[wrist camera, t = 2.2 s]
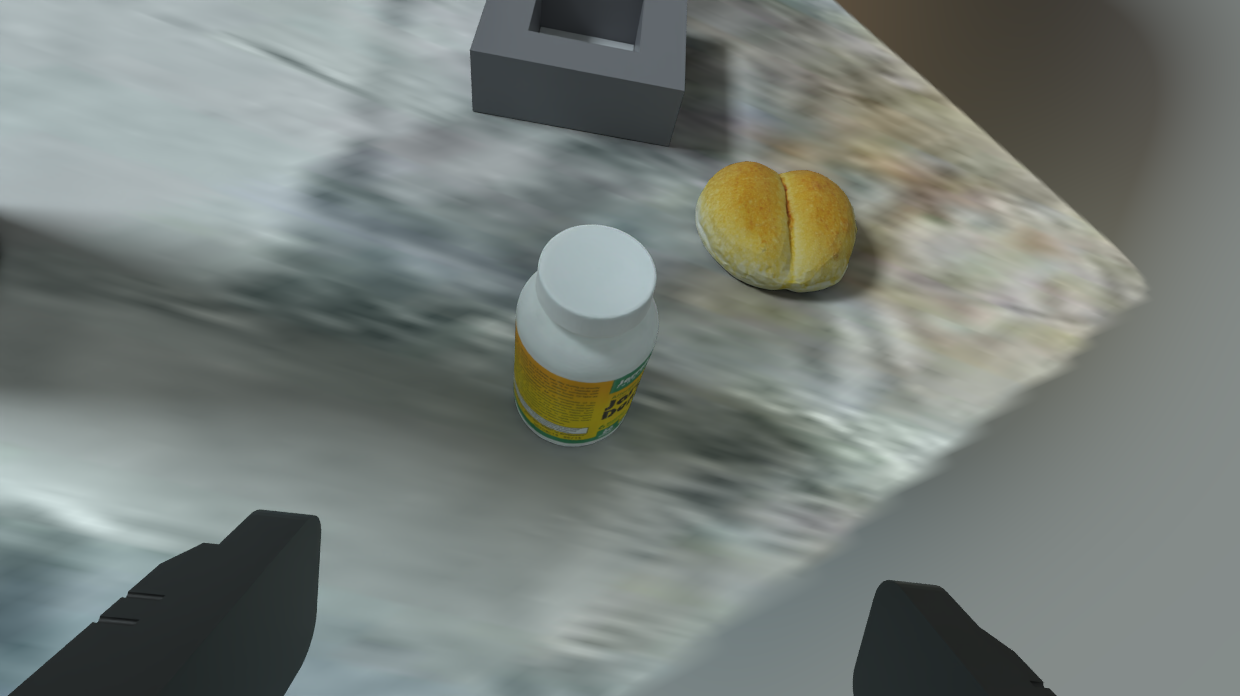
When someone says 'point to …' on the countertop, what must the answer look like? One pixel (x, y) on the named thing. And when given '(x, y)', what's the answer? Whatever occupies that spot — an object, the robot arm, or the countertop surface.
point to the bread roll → (777, 227)
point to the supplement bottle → (584, 334)
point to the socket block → (583, 64)
